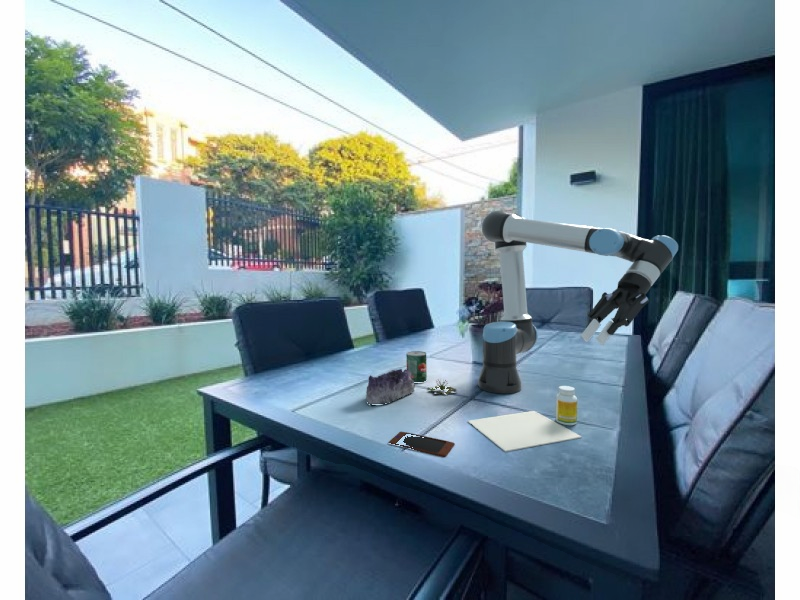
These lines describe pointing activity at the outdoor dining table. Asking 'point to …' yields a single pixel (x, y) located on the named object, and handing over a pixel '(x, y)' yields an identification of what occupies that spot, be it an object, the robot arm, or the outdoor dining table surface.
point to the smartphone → (425, 444)
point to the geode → (389, 387)
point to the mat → (522, 430)
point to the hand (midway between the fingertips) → (591, 340)
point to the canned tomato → (417, 365)
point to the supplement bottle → (566, 406)
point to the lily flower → (443, 387)
